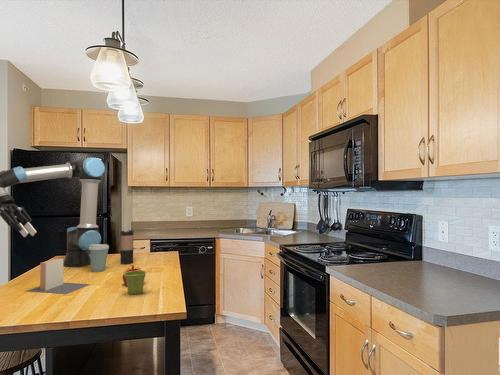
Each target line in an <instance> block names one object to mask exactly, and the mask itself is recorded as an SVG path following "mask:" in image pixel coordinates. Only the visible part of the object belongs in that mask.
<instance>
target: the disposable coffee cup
mask: <svg viewBox="0 0 500 375" xmlns="http://www.w3.org/2000/svg"><path fill="white" fill-rule="evenodd" d="M109 249H110V246H109V244H107V243H104V244H102V243H100V244H91V245H90V246H89V250H88V252H89V255H90V260H91V264H90V265H91V266H90V267H91V271H92V272H94V273H101V272H104V271H105V269H106V265H107V259H108V253H109Z"/></svg>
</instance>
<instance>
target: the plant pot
mask: <svg viewBox="0 0 500 375" xmlns="http://www.w3.org/2000/svg"><path fill="white" fill-rule="evenodd" d="M125 272H126V271H125ZM125 272H123V274H124V275H125V278H126V282H127V286H126V287H127V288H126V289H127V294H129V295H139V294H142V293H143V292H144V285H145V277H146V274H147V271H146V270H142V271H130V272H126V273H125Z"/></svg>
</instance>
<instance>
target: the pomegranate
mask: <svg viewBox="0 0 500 375" xmlns="http://www.w3.org/2000/svg"><path fill="white" fill-rule="evenodd" d="M139 267H140V266H137V267H135V266H134V264H132V265H131V268H130V267H129V268H127V269H126V270H125V272H124V273H126V272H130V271H143V270H142V269H141V268H139ZM124 273H123V274H122V277H121V278H122V281H123V285H125V286H126V287H127V282H126V278H125V275H124Z"/></svg>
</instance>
